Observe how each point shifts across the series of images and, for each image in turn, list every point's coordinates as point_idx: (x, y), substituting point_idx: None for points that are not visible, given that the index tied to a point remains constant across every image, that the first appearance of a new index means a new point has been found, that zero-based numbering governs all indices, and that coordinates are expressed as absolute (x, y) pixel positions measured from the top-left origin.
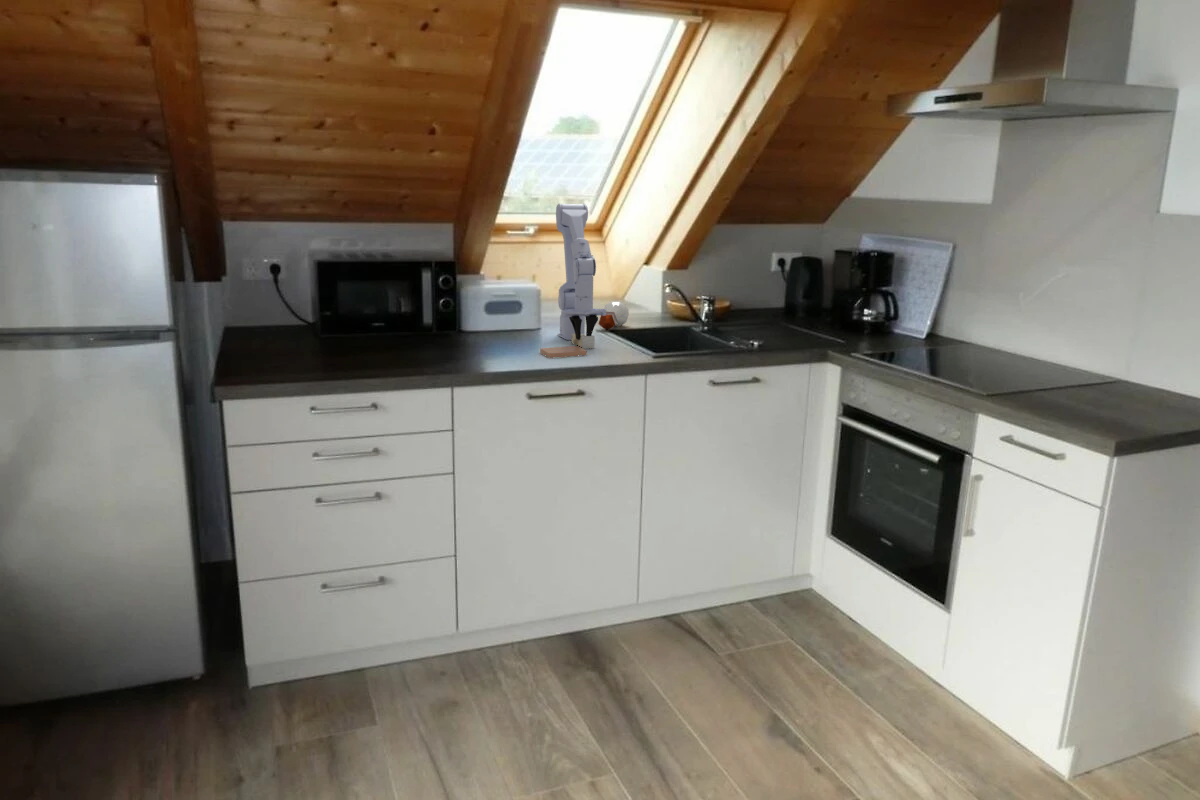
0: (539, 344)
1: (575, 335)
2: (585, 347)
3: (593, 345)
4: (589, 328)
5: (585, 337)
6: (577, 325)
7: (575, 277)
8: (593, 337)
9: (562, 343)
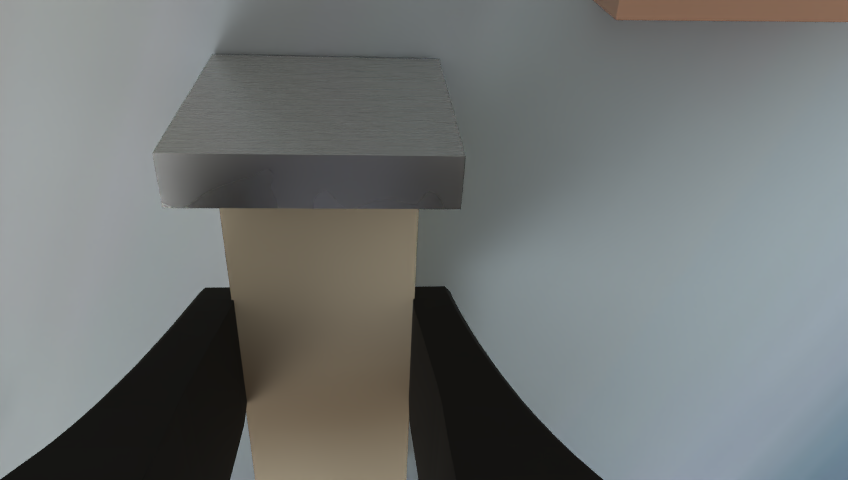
0: (775, 471)
1: (403, 473)
2: (386, 66)
3: (221, 70)
4: (186, 446)
5: (394, 145)
6: (560, 470)
7: None
8: (189, 138)
9: None
